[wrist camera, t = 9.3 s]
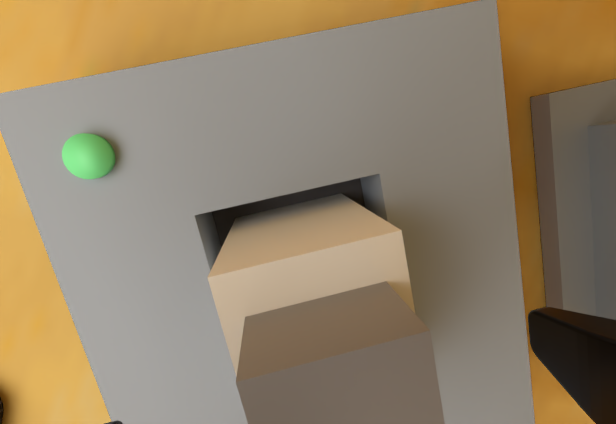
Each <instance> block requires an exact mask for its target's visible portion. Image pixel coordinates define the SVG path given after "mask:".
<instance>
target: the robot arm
mask: <svg viewBox="0 0 616 424" xmlns="http://www.w3.org/2000/svg"><path fill="white" fill-rule="evenodd" d="M528 323H529V334H530V344H531V348H532V350H533V352H534V353H535V355H536V356H537V357H538V359H539V360H540V361H541V362H542V363H543V364H544V366H545V367H546V368H547V369H548V370H549V371H550V372H551V374H552V375H553V376H554V377H555V378H556V379H557V380H558V382H559V383H560V384H561V385H562V386H563V387H564V389H565V390H566V391H567V392H568V393H569V394H570V395H571V397H572V398H573V399H574V400H575V401H576V402H577V404H578V405H579V406H580V407H581V408H582V409H583V410H584V411H585V412H586V414H587V415H588V416H589V417H590V418H591V419H592V420H593V421H594V422H595V423H596V424H616V320H614V319H609V318H604V317H599V316H594V315H588V314H583V313H578V312H573V311H568V310H563V309H558V308H553V307H543V308H540V309H536V310H532V311H531V312H530V313H529V315H528ZM105 424H123V423H122V422H121V421H118V420H116V421H112V422H109V423H105Z"/></svg>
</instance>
